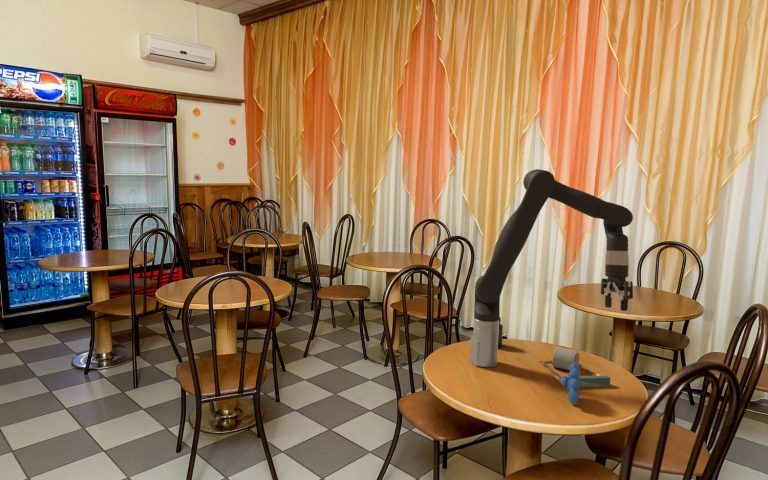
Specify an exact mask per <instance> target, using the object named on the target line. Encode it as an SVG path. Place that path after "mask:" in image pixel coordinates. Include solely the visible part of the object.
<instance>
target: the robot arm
mask: <svg viewBox="0 0 768 480" xmlns="http://www.w3.org/2000/svg"><path fill="white" fill-rule="evenodd" d="M523 187H524V189H525V193H524V196H523V198H522V200H521V202H520V204H519V205H518V207H517V208H516V209H515V211H514V212H513V213H512V214H511V215H510V217H509V218H508V219H507V220H506V222H505V224H504V226H503V228H502V230H501V232H500V234H499V236H498V239H497V241H496V244H495V246H494V250H493V253H492V256H491V260H490V263H489V264H488V267H487V269H486V270H485V272H484V274H483V275H480V276H479V277H478V278H477V280H476V282H475V286H474V302H473V303H474V304H473V305H474V306H473V309H474V310H473V333H472V336H471V337H470V353H469V354H470V355H469V361H470V362H471V363H472V365H474V366H475V367H481V368H492V367H496V366H497V365H498V354H499V352H498V349H499V348H498V334H499V317H500V312H501V309H500V307H501V306H500V304H501V303H500V299H501V295H502V291H503V288H504V285H505V283H506V280H507V277H508V276H509V273H510V271H511V269H512V267H513V266H514V264H515V262H516V261H517V259H518V257H519V255H520V253H521V252H522V250H523V248H524V246H525V244H526V242H527V240H528V238H529V236H530V235H531V231H532V229H533V228H534V225H535V223H536V221H537V219H538V216H539V215H540V212H541V211H542V209H543V207H544V205H545V204H546V203H547V200H548V199H552V200H554V201H557V202H559V203H562V204H564V205H565V206H567V207H569V208H571V209H573V210H576V211H577V212H580V213H581V214H584V215H586V216H588V217H590V218H594V219H599V220H602V221H603V223H602V224H603V228H604V234H605V237H606V250H605V252H606V253H605V261H604V263H605V265H604V275H605V277H606V278H601V283H600V284H601V285H600V294H601V295H603V297H604V307H605V308H608V309H609V308H610V309H611V308H612V307H613V306H612V305H613V301H612V299H613V297H612V296H613V295H614V293H616V294H617V295H618V296H619V297H620V311H622V312H627V311H628V309H629V307H628V306H629V301H630V300H632V299H633V298H634V292H633V291H634V289H633V288H634V287H633V285H634V283H633V281H630V280H628V281H627V280H626V278H629V269H630V263H629V261H630V260H629V259H630V257H629V237H628V235H626V234H624V229H623V228H625V227H628V226H629V225H631V224H632V222H633V221H634V220H633V219H634V215H633V213H632V211H631V210H630V209H629V208H627V207H625V206H623V205H619V204H616V203H614V202H610V201H606V200H603V199H601V198H599V197H597V196H595V195H592V194H590V193H588V192H585V191H583V190H579V189H577V188H573V187H571V186H568V185H566V184H563V183H561V182H559V181H558V180H556V179H555V176H554V174H553V173H551V171H548V170H545V169H538V168H536V169H531V170H530V171H529V172H527V173H526V174H525V175H524V177H523Z"/></svg>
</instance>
